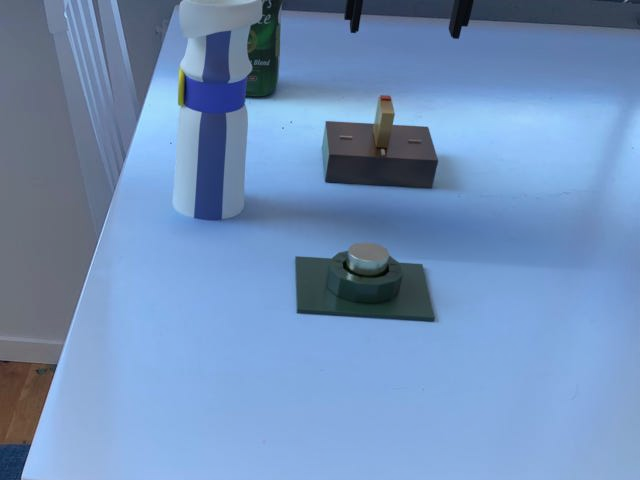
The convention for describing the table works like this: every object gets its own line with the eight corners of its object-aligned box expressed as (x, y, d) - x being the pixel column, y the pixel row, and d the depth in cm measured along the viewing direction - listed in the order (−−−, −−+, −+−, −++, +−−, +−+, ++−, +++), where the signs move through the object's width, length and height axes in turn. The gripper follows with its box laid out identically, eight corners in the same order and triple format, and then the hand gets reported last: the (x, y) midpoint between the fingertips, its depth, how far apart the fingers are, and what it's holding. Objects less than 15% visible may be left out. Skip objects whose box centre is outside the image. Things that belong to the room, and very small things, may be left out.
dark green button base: (417, 285, 90) (427, 245, 87) (428, 340, 84) (440, 298, 81) (292, 278, 91) (297, 237, 88) (294, 331, 84) (300, 289, 81)
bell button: (383, 262, 86) (387, 243, 84) (386, 281, 83) (390, 262, 82) (344, 260, 86) (347, 241, 84) (346, 279, 83) (349, 259, 82)
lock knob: (388, 148, 105) (395, 111, 102) (375, 147, 105) (382, 110, 102) (384, 131, 108) (391, 94, 106) (372, 130, 108) (379, 94, 106)
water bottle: (166, 221, 98) (175, -73, 80) (170, 187, 104) (178, -95, 85) (245, 224, 98) (272, -70, 80) (244, 190, 104) (269, -92, 85)
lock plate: (422, 153, 112) (428, 125, 110) (431, 188, 105) (438, 158, 103) (321, 147, 113) (325, 119, 110) (324, 182, 106) (329, 152, 104)
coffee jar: (202, 95, 123) (211, -80, 110) (209, 75, 129) (219, -94, 115) (275, 101, 123) (294, -74, 109) (280, 81, 128) (298, -89, 114)
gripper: (344, -202, 76) (314, 38, 89) (560, -193, 75) (499, 49, 88) (342, -214, 81) (313, 15, 94) (544, -206, 80) (488, 25, 93)
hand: (403, 31), depth 91 cm, fingers open, 9 cm apart
